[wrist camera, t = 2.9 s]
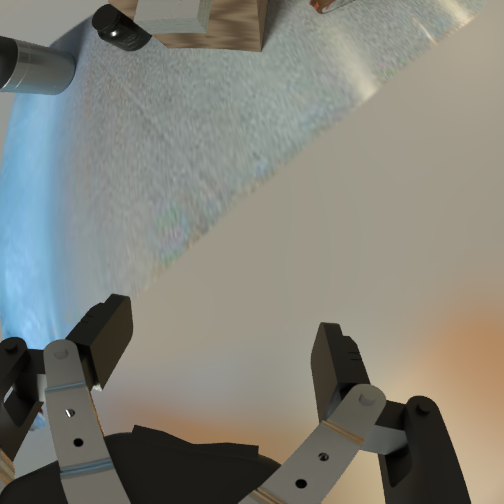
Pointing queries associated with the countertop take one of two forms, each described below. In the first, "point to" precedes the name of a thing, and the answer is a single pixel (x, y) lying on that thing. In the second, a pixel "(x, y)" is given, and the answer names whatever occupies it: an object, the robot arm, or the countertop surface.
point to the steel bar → (173, 16)
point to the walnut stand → (217, 26)
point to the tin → (328, 5)
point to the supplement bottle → (119, 29)
